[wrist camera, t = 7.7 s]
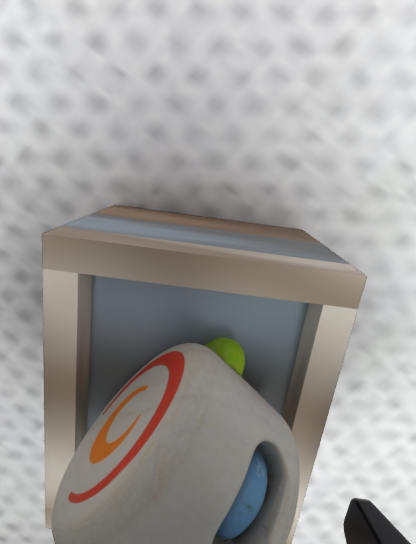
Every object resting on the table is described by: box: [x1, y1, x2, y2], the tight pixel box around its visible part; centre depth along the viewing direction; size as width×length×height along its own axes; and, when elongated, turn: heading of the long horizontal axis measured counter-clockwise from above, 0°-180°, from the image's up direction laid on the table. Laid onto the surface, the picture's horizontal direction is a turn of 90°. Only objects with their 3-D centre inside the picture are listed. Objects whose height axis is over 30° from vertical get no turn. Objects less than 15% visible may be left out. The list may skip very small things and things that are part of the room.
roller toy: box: [51, 337, 300, 544], centre depth 9 cm, size 4×6×6 cm
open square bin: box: [42, 205, 367, 544], centre depth 14 cm, size 11×9×7 cm
